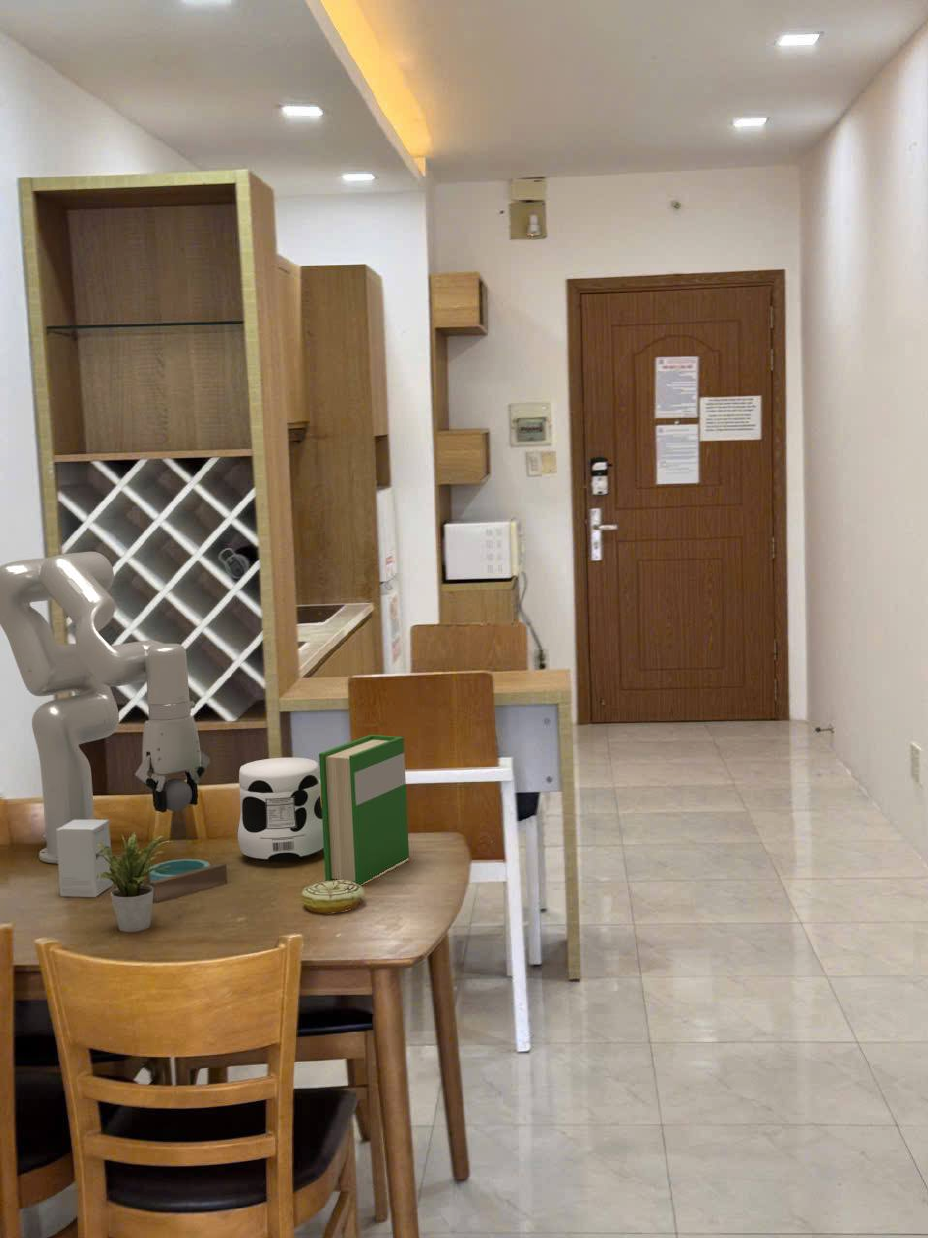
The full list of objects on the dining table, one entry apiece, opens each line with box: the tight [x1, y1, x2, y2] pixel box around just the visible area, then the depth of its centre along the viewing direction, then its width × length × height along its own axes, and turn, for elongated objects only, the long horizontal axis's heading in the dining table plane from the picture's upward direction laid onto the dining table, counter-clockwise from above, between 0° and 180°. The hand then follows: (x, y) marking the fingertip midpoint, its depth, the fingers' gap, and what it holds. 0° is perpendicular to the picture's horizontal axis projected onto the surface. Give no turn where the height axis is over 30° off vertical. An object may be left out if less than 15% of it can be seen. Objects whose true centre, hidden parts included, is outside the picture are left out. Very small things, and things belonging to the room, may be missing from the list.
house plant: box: [94, 829, 173, 933], centre depth 242 cm, size 14×14×16 cm
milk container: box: [236, 757, 324, 864], centre depth 282 cm, size 17×17×18 cm
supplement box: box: [56, 819, 114, 898], centre depth 265 cm, size 7×7×13 cm
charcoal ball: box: [162, 778, 192, 812], centre depth 268 cm, size 6×6×6 cm
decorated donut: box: [301, 879, 366, 914], centre depth 251 cm, size 10×11×4 cm
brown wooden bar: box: [149, 862, 228, 904], centre depth 262 cm, size 2×15×4 cm, turn 133°
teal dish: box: [148, 858, 210, 883], centre depth 270 cm, size 11×11×2 cm
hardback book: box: [318, 734, 410, 885], centre depth 269 cm, size 18×7×24 cm, turn 152°
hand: (176, 806), depth 268 cm, fingers closed on charcoal ball, 5 cm apart
